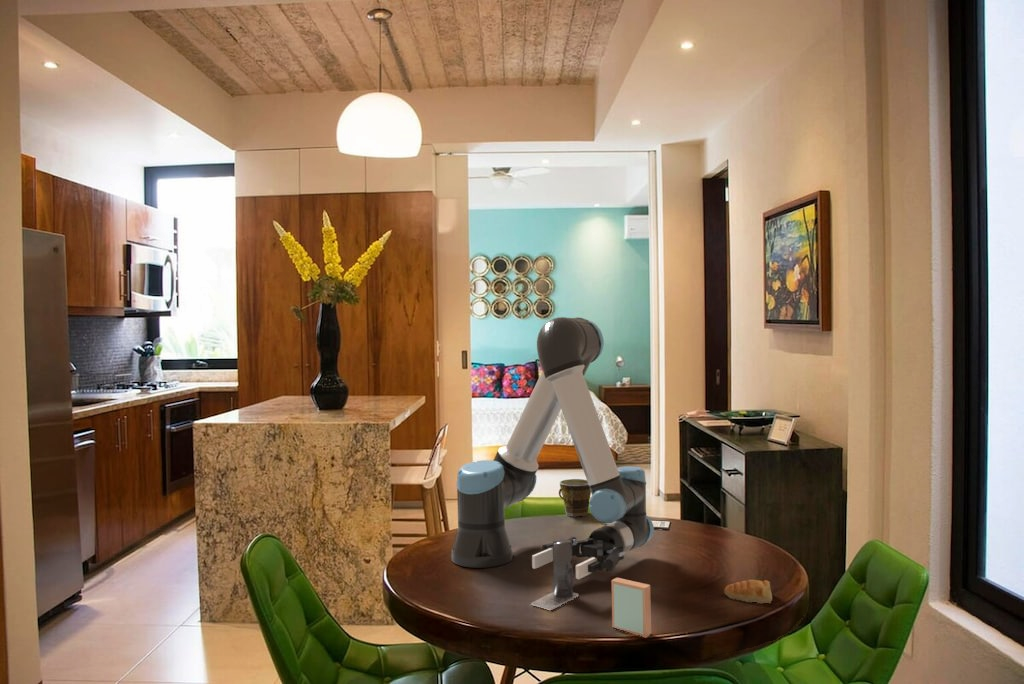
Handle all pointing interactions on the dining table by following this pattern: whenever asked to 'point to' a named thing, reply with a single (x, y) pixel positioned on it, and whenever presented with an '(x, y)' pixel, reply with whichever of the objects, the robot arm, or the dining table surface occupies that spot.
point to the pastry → (750, 591)
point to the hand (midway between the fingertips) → (554, 567)
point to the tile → (631, 606)
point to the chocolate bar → (659, 524)
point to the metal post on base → (560, 577)
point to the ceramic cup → (575, 496)
